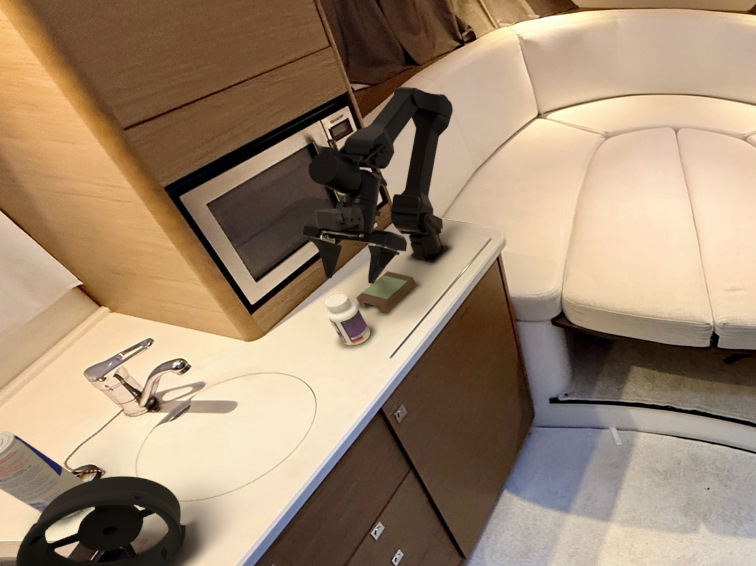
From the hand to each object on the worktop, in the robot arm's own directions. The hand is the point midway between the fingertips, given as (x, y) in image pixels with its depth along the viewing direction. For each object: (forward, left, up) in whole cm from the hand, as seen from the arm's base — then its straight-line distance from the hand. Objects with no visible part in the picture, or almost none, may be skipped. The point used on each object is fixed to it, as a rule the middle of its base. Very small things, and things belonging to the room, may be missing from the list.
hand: (349, 280), depth 100 cm
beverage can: (+49, -14, -11) cm, 52 cm away
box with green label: (-8, -2, -11) cm, 14 cm away
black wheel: (+47, -1, -5) cm, 48 cm away
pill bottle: (+5, +1, -11) cm, 12 cm away
